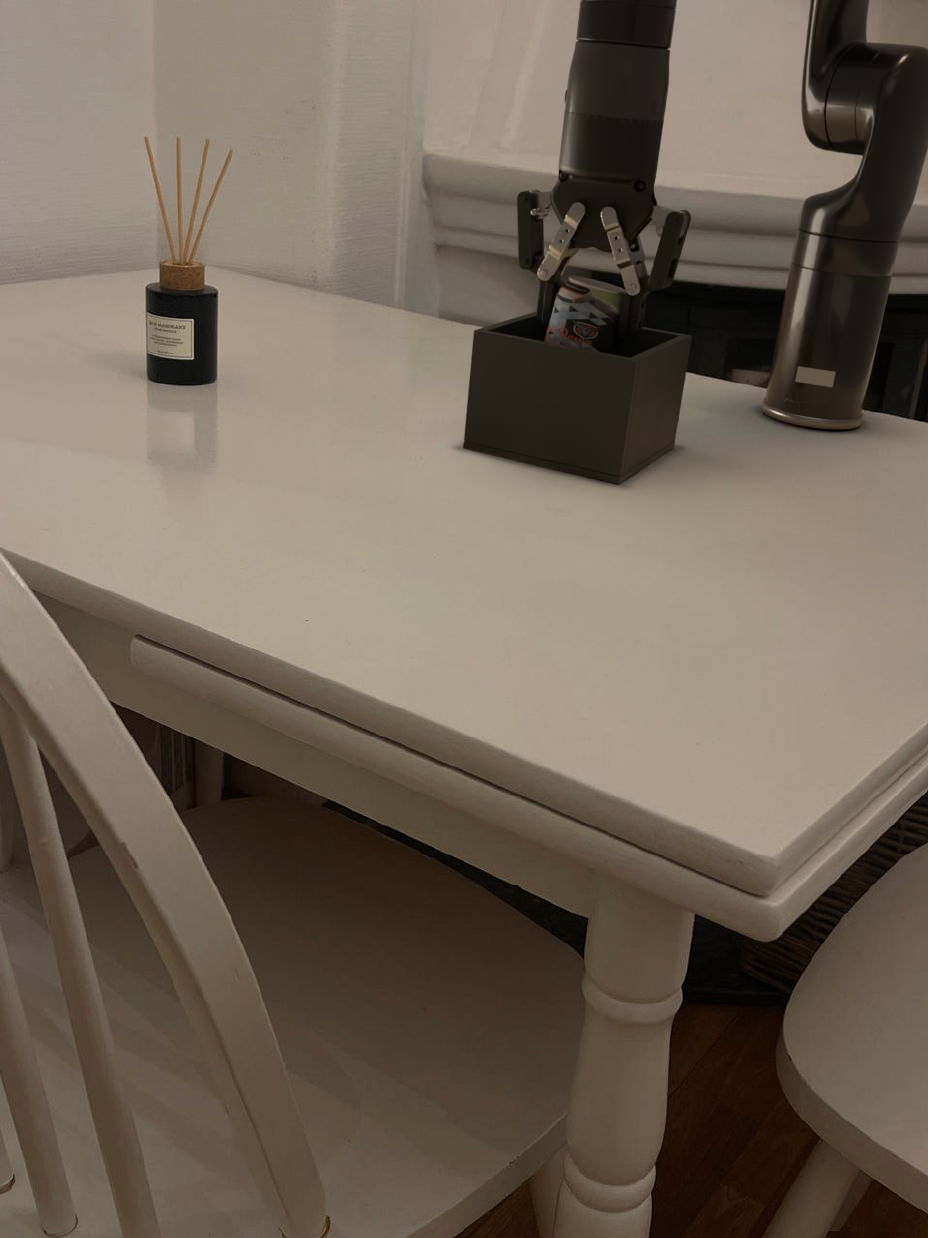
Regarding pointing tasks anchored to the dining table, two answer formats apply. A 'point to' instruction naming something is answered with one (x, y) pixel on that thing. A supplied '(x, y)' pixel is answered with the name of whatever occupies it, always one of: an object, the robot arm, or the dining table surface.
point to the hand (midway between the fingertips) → (586, 333)
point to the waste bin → (574, 399)
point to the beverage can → (586, 315)
